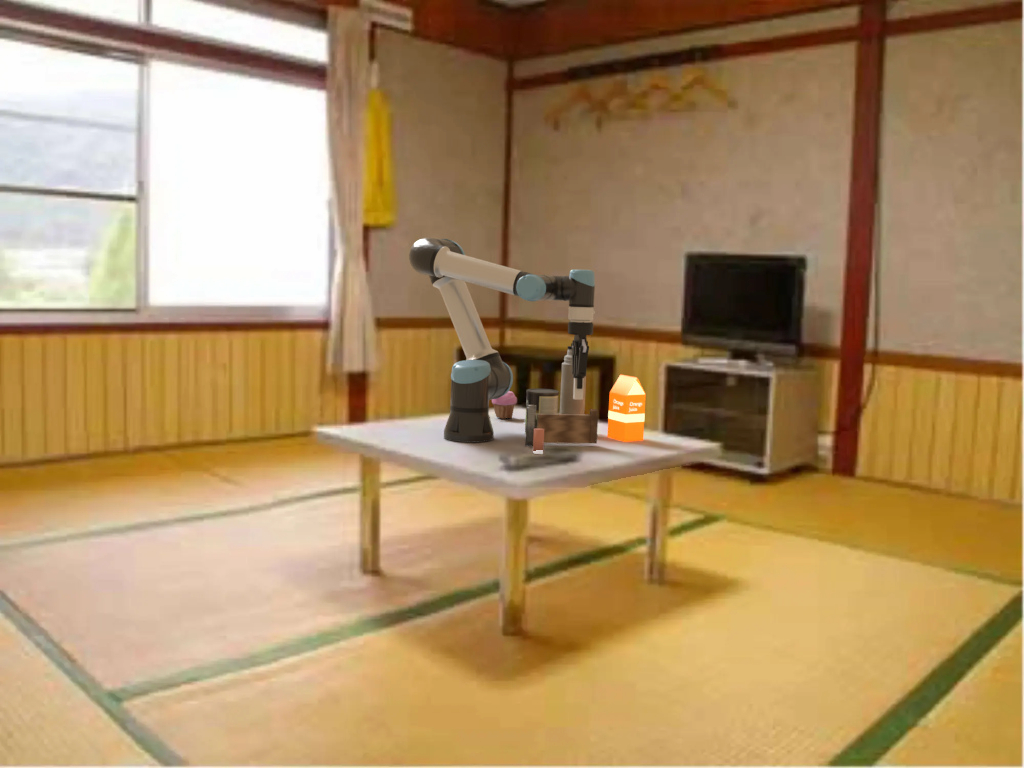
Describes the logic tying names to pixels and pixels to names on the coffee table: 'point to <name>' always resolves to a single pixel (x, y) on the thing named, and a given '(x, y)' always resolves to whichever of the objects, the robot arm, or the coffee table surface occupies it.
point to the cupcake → (504, 405)
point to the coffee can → (542, 401)
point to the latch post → (538, 439)
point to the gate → (569, 427)
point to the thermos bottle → (570, 388)
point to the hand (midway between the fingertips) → (578, 399)
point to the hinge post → (530, 424)
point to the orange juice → (626, 410)
